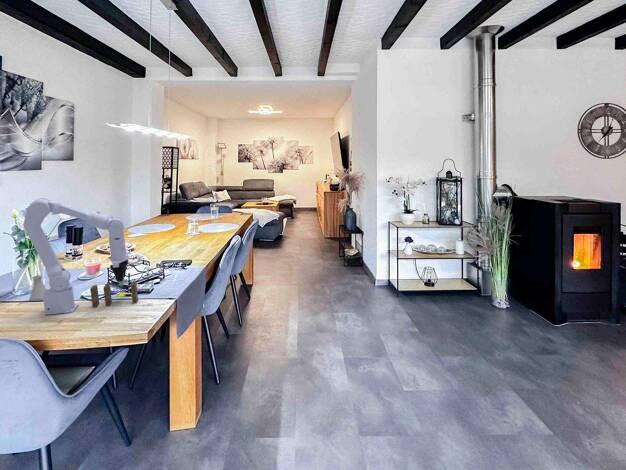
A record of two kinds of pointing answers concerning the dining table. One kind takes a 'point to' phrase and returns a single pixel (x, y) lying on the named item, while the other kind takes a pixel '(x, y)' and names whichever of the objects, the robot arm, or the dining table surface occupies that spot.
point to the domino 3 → (121, 281)
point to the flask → (37, 289)
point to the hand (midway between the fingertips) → (121, 279)
